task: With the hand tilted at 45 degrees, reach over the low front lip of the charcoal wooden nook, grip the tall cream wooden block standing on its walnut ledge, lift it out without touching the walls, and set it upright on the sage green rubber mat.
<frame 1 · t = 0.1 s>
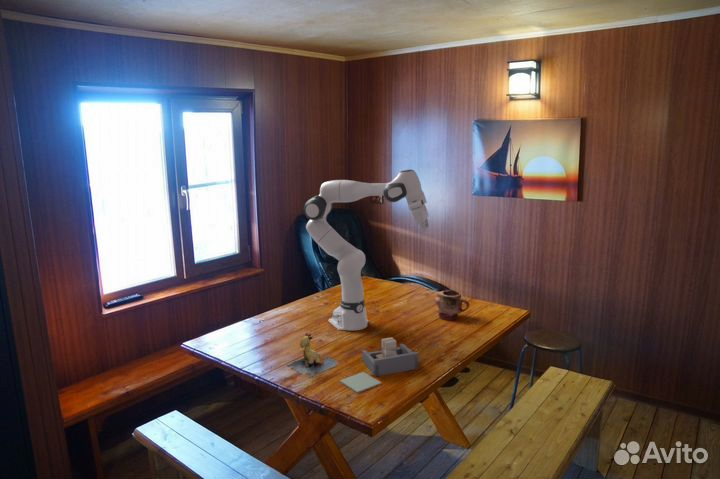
hand: (426, 229, 254), 52 cm above the table, tool tilted 20°, fingers open, 8 cm apart
block: (389, 357, 229), point 3 cm above the table, touching nook
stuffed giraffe: (314, 365, 230), on the table
brown ceramic mug: (451, 318, 282), on the table
mat: (360, 382, 213), on the table
nook: (389, 363, 230), on the table
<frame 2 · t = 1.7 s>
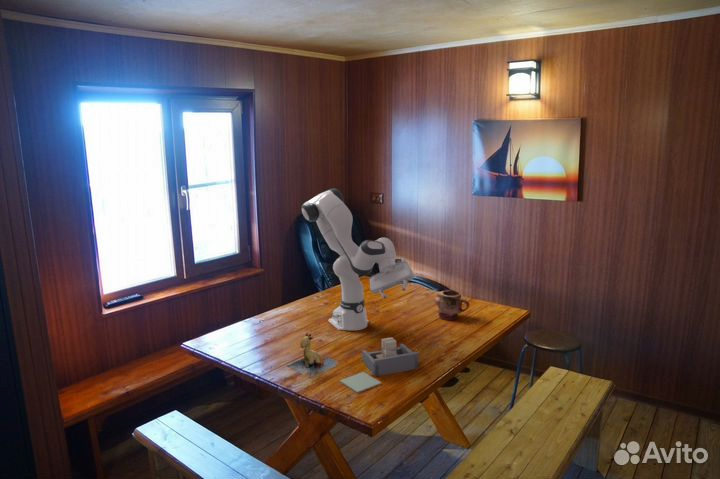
hand: (394, 293, 227), 30 cm above the table, tool tilted 55°, fingers open, 8 cm apart
nothing on the table moved.
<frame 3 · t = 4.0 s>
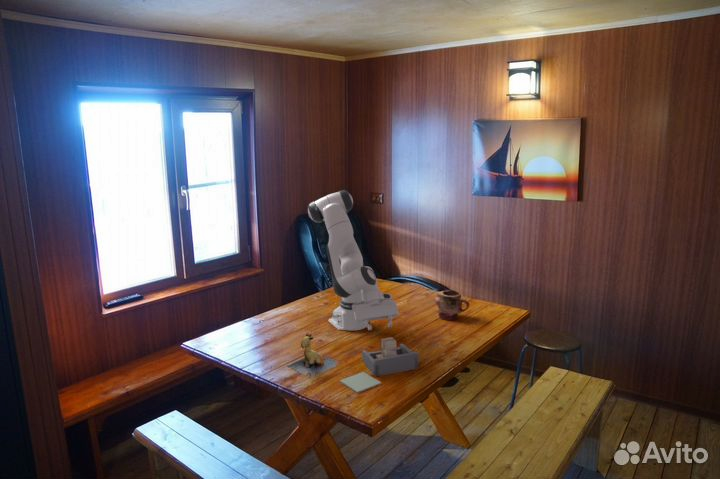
hand: (380, 328, 233), 14 cm above the table, tool tilted 45°, fingers open, 8 cm apart
nothing on the table moved.
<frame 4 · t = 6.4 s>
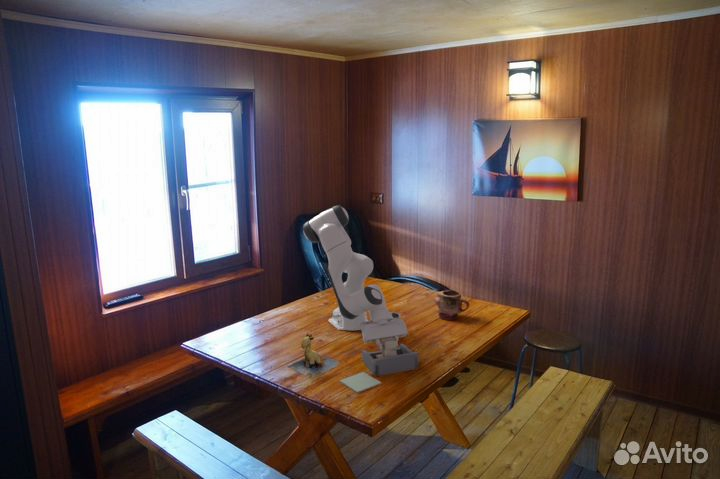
hand: (389, 348, 228), 7 cm above the table, tool tilted 45°, fingers closed on block, 5 cm apart
block: (389, 357, 229), point 3 cm above the table, touching gripper, nook
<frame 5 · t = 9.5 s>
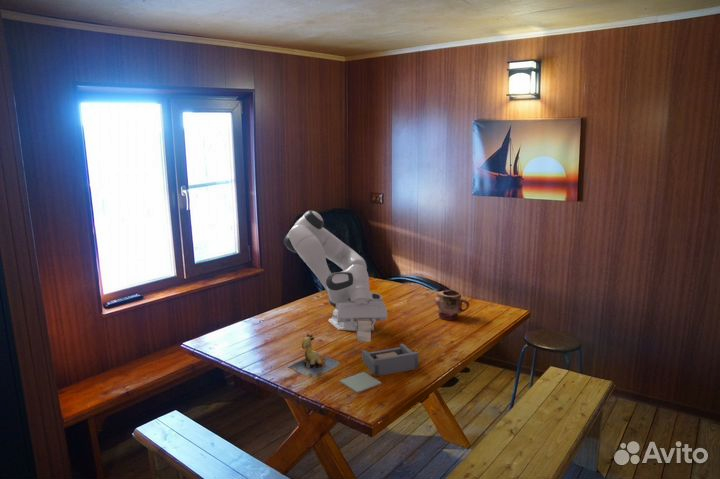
hand: (363, 330, 209), 22 cm above the table, tool tilted 50°, fingers closed on block, 5 cm apart
block: (363, 340, 210), point 18 cm above the table, tilted 5°, touching gripper
when the fingers open (7 cm above the table, at t = 12.7 s): block drops 2 cm, resting on mat.
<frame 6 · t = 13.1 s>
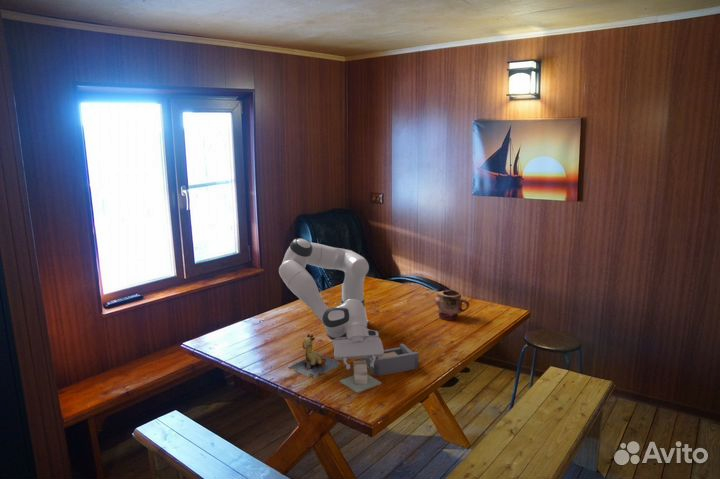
hand: (360, 368, 211), 7 cm above the table, tool tilted 45°, fingers open, 8 cm apart
block: (360, 381, 213), point 1 cm above the table, touching mat
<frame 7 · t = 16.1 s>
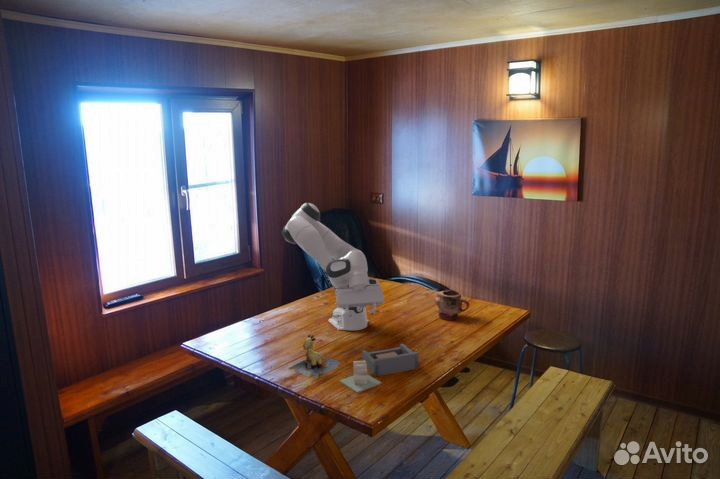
hand: (361, 315, 220), 24 cm above the table, tool tilted 45°, fingers open, 8 cm apart
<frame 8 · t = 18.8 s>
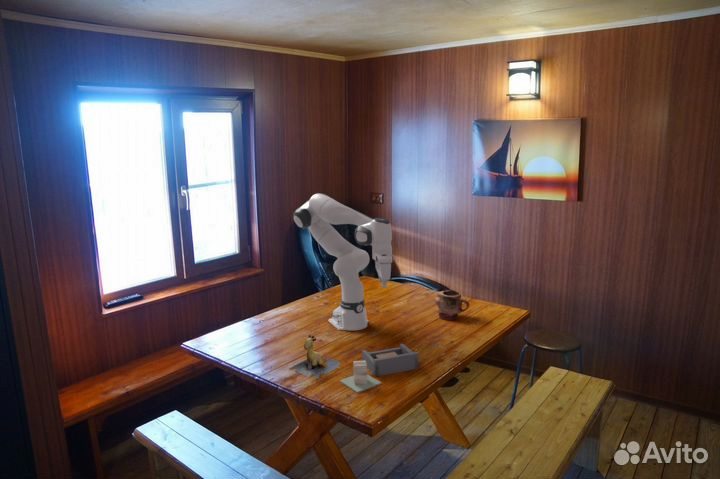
hand: (382, 284, 239), 31 cm above the table, tool pointing down, fingers open, 8 cm apart
at the end: block inside the target area on the mat (0.2 cm from its centre), point 0.6 cm above the mat's base; block tilted 0°; block touching mat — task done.
